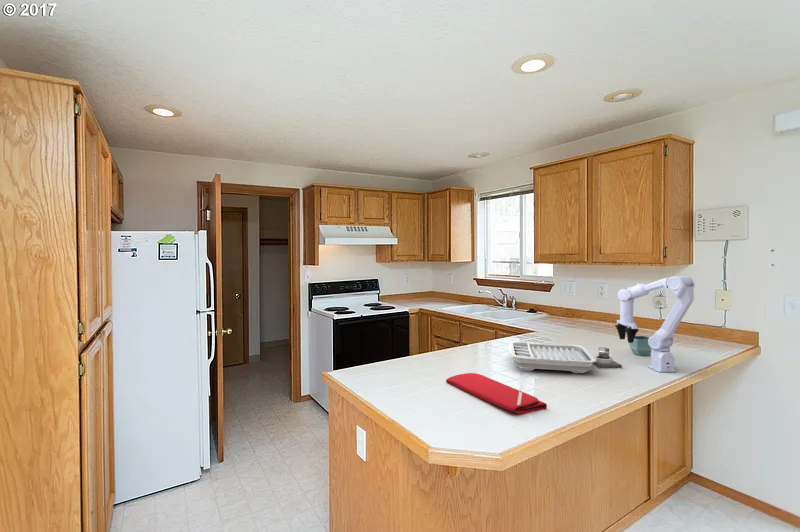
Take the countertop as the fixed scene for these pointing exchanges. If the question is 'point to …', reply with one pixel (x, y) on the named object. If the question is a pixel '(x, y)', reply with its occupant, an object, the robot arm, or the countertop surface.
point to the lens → (604, 353)
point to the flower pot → (640, 345)
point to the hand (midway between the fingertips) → (626, 340)
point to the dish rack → (551, 356)
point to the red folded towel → (497, 393)
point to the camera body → (606, 363)
